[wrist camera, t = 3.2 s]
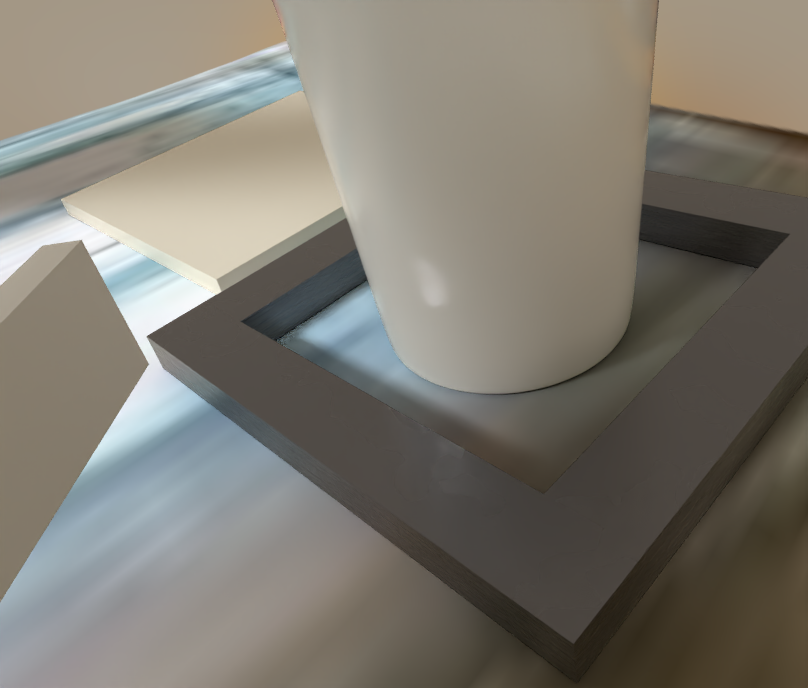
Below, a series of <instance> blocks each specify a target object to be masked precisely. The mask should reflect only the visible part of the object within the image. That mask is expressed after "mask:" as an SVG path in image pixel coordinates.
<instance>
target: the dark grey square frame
mask: <svg viewBox="0 0 808 688" xmlns="http://www.w3.org/2000/svg"><path fill="white" fill-rule="evenodd" d="M639 239H642V240H646V241H650V242H654V243H658V244H662V245H667V246H671V247H675V248H679V249H683V250H687V251H691V252H695V253H700V254H704V255H708V256H712V257H716V258H720V259H724V260H729V261H733V262H737V263H741V264H745V265H749V266H753V267H757V268H758V269H757V270H756V271H755V272H754V273H753V274H752V275H751V276H750V277H749V278H748V279H747V280H746V281H745V282H744V283H743V285H742V286H741V287H740V288H739V289H738V290H737V291H736V292H735V293H734V294H733V295H732V296H731V297H730V298H729V299H728V300H727V301H726V302H725V304H724V305H723V306H722V307H721V308H720V309H719V310H718V311H717V312H716V313H715V314H714V315H713V316H712V317H711V318H710V319H709V320H708V321H707V323H706V324H705V325H704V326H703V327H702V328H701V329H700V330H699V331H698V332H697V333H696V334H695V335H694V336H693V337H692V338H691V339H690V340H689V342H688V343H687V344H686V345H685V346H684V347H683V348H682V349H681V350H680V351H679V352H678V353H677V354H676V355H675V356H674V357H673V358H672V359H671V361H670V362H669V363H668V364H667V365H666V366H665V367H664V368H663V369H662V370H661V371H660V372H659V373H658V374H657V375H656V376H655V377H654V378H653V380H652V381H651V382H650V383H649V384H648V385H647V386H646V387H645V388H644V389H643V390H642V391H641V392H640V393H639V394H638V395H637V396H636V397H635V399H634V400H633V401H632V402H631V403H630V404H629V405H628V406H627V407H626V408H625V409H624V410H623V411H622V412H621V413H620V414H619V415H618V417H617V418H616V419H615V420H614V421H613V422H612V423H611V424H610V425H609V426H608V427H607V428H606V429H605V430H604V431H603V432H602V433H601V434H600V436H599V437H598V438H597V439H596V440H595V441H594V442H593V443H592V444H591V445H590V446H589V447H588V448H587V449H586V450H585V451H584V452H583V453H582V455H581V456H580V457H579V458H578V459H577V460H576V461H575V462H574V463H573V464H572V465H571V466H570V467H569V468H568V469H567V470H566V471H565V472H564V474H563V475H562V476H561V477H560V478H559V479H558V480H557V481H556V482H555V483H554V484H553V485H552V486H551V487H550V488H549V489H548V490H547V491H546V493H545V494H543V493H541V492H539V491H537V490H536V489H534V488H532V487H530V486H528V485H527V484H525V483H523V482H521V481H520V480H518V479H516V478H514V477H513V476H511V475H509V474H507V473H506V472H504V471H502V470H500V469H499V468H497V467H495V466H493V465H492V464H490V463H488V462H486V461H485V460H483V459H481V458H479V457H478V456H476V455H474V454H472V453H471V452H469V451H467V450H465V449H463V448H462V447H460V446H458V445H456V444H455V443H453V442H451V441H449V440H448V439H446V438H444V437H442V436H441V435H439V434H437V433H435V432H434V431H432V430H430V429H428V428H427V427H425V426H423V425H421V424H420V423H418V422H416V421H414V420H413V419H411V418H409V417H407V416H406V415H404V414H402V413H400V412H399V411H397V410H395V409H393V408H391V407H390V406H388V405H386V404H384V403H383V402H381V401H379V400H377V399H376V398H374V397H372V396H370V395H369V394H367V393H365V392H363V391H362V390H360V389H358V388H356V387H355V386H353V385H351V384H349V383H348V382H346V381H344V380H342V379H341V378H339V377H337V376H335V375H334V374H332V373H330V372H328V371H326V370H325V369H323V368H321V367H319V366H318V365H316V364H314V363H312V362H311V361H309V360H307V359H305V358H304V357H302V356H300V355H298V354H297V353H295V352H293V351H291V350H290V349H288V348H286V347H284V346H283V345H281V344H279V343H277V342H276V341H275V340H277V339H278V338H280V337H281V336H283V335H284V334H286V333H287V332H289V331H290V330H292V329H293V328H295V327H296V326H298V325H299V324H301V323H302V322H304V321H305V320H307V319H308V318H310V317H311V316H313V315H314V314H316V313H317V312H319V311H320V310H322V309H323V308H325V307H326V306H328V305H329V304H331V303H332V302H334V301H335V300H337V299H338V298H340V297H341V296H343V295H344V294H346V293H347V292H349V291H350V290H352V289H353V288H355V287H356V286H358V285H359V284H361V283H362V282H364V281H365V280H367V277H366V274H365V271H364V269H363V266H362V263H361V260H360V257H359V254H358V251H357V248H356V245H355V242H354V239H353V236H352V233H351V230H350V227H349V224H348V221H347V218H345V219H343V220H341V221H340V222H338V223H336V224H335V225H333V226H331V227H330V228H328V229H326V230H325V231H323V232H321V233H320V234H318V235H316V236H314V237H313V238H311V239H309V240H308V241H306V242H304V243H303V244H301V245H299V246H298V247H296V248H294V249H293V250H291V251H289V252H288V253H286V254H284V255H283V256H281V257H279V258H277V259H276V260H274V261H272V262H271V263H269V264H267V265H266V266H264V267H262V268H261V269H259V270H257V271H256V272H254V273H252V274H251V275H249V276H247V277H246V278H244V279H242V280H241V281H239V282H237V283H235V284H234V285H232V286H230V287H229V288H227V289H225V290H224V291H222V292H220V293H219V294H217V295H215V296H214V297H212V298H210V299H209V300H207V301H205V302H204V303H202V304H200V305H198V306H197V307H195V308H193V309H192V310H190V311H188V312H187V313H185V314H183V315H182V316H180V317H178V318H177V319H175V320H173V321H172V322H170V323H168V324H167V325H165V326H163V327H161V328H160V329H158V330H156V331H155V332H153V333H151V334H150V335H148V336H147V338H148V340H149V342H150V344H151V346H152V348H153V350H154V351H155V353H156V355H157V357H158V359H159V361H160V363H161V365H162V367H163V368H164V369H165V370H166V371H168V372H169V373H170V374H172V375H173V376H174V377H175V378H177V379H178V380H179V381H181V382H182V383H183V384H185V385H186V386H187V387H189V388H190V389H191V390H192V391H194V392H195V393H196V394H198V395H199V396H200V397H202V398H203V399H204V400H206V401H207V402H208V403H210V404H211V405H212V406H213V407H215V408H216V409H217V410H219V411H220V412H221V413H223V414H224V415H225V416H227V417H228V418H229V419H231V420H232V421H233V422H234V423H236V424H237V425H238V426H240V427H241V428H242V429H244V430H245V431H246V432H248V433H249V434H250V435H252V436H253V437H254V438H255V439H257V440H258V441H259V442H261V443H262V444H263V445H265V446H266V447H267V448H269V449H270V450H271V451H273V452H274V453H275V454H276V455H278V456H279V457H280V458H282V459H283V460H284V461H286V462H287V463H288V464H290V465H291V466H292V467H294V468H295V469H296V470H297V471H299V472H300V473H301V474H303V475H304V476H305V477H307V478H308V479H309V480H311V481H312V482H313V483H314V484H316V485H317V486H318V487H320V488H321V489H322V490H324V491H325V492H326V493H328V494H329V495H330V496H332V497H333V498H334V499H335V500H337V501H338V502H339V503H341V504H342V505H343V506H345V507H346V508H347V509H349V510H350V511H351V512H353V513H354V514H355V515H356V516H358V517H359V518H360V519H362V520H363V521H364V522H366V523H367V524H368V525H370V526H371V527H372V528H374V529H375V530H376V531H377V532H379V533H380V534H381V535H383V536H384V537H385V538H387V539H388V540H389V541H391V542H392V543H393V544H395V545H396V546H397V547H398V548H400V549H401V550H402V551H404V552H405V553H406V554H408V555H409V556H410V557H412V558H413V559H414V560H416V561H417V562H418V563H419V564H421V565H422V566H423V567H425V568H426V569H427V570H429V571H430V572H431V573H433V574H434V575H435V576H436V577H438V578H439V579H440V580H442V581H443V582H444V583H446V584H447V585H448V586H450V587H451V588H452V589H454V590H455V591H456V592H457V593H459V594H460V595H461V596H463V597H464V598H465V599H467V600H468V601H469V602H471V603H472V604H473V605H475V606H476V607H477V608H478V609H480V610H481V611H482V612H484V613H485V614H486V615H488V616H489V617H490V618H492V619H493V620H494V621H496V622H497V623H498V624H499V625H501V626H502V627H503V628H505V629H506V630H507V631H509V632H510V633H511V634H513V635H514V636H515V637H517V638H518V639H519V640H520V641H522V642H523V643H524V644H526V645H527V646H528V647H530V648H531V649H532V650H534V651H535V652H536V653H537V654H539V655H540V656H541V657H543V658H544V659H545V660H547V661H548V662H549V663H551V664H552V665H553V666H555V667H556V668H557V669H558V670H560V671H561V672H562V673H564V674H565V675H566V676H568V677H569V678H570V679H572V680H573V681H574V682H576V683H578V681H579V680H580V679H581V677H582V676H583V675H584V673H585V672H586V671H587V669H588V668H589V667H590V665H591V664H592V663H593V661H594V660H595V659H596V657H597V656H598V655H599V653H600V652H601V651H602V649H603V648H604V647H605V645H606V644H607V643H608V641H609V640H610V639H611V637H612V636H613V635H614V633H615V632H616V631H617V629H618V628H619V627H620V626H621V624H622V623H623V622H624V620H625V619H626V618H627V616H628V615H629V614H630V612H631V611H632V610H633V608H634V607H635V606H636V604H637V603H638V602H639V600H640V599H641V598H642V596H643V595H644V594H645V592H646V591H647V590H648V588H649V587H650V586H651V584H652V583H653V582H654V580H655V579H656V578H657V576H658V575H659V574H660V572H661V571H662V570H663V568H664V567H665V566H666V564H667V563H668V562H669V560H670V559H671V558H672V556H673V555H674V554H675V552H676V551H677V550H678V548H679V547H680V546H681V544H682V543H683V542H684V540H685V539H686V538H687V536H688V535H689V534H690V532H691V531H692V530H693V529H694V527H695V526H696V525H697V523H698V522H699V521H700V519H701V518H702V517H703V515H704V514H705V513H706V511H707V510H708V509H709V507H710V506H711V505H712V503H713V502H714V501H715V499H716V498H717V497H718V495H719V494H720V493H721V491H722V490H723V489H724V487H725V486H726V485H727V483H728V482H729V481H730V479H731V478H732V477H733V475H734V474H735V473H736V471H737V470H738V469H739V467H740V466H741V465H742V463H743V462H744V461H745V459H746V458H747V457H748V455H749V454H750V453H751V451H752V450H753V449H754V447H755V446H756V445H757V443H758V442H759V441H760V439H761V438H762V437H763V436H764V434H765V433H766V432H767V430H768V429H769V428H770V426H771V425H772V424H773V422H774V421H775V420H776V418H777V417H778V416H779V414H780V413H781V412H782V410H783V409H784V408H785V406H786V405H787V404H788V402H789V401H790V400H791V398H792V397H793V396H794V394H795V393H796V392H797V390H798V389H799V388H800V386H801V385H802V384H803V382H804V381H805V380H806V378H807V377H808V198H806V197H800V196H794V195H788V194H782V193H776V192H771V191H765V190H759V189H753V188H747V187H741V186H735V185H729V184H723V183H717V182H711V181H705V180H699V179H693V178H687V177H681V176H675V175H670V174H664V173H658V172H652V171H646V170H645V175H644V188H643V200H642V211H641V223H640V235H639Z"/></svg>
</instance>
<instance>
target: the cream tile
mask: <svg viewBox="0 0 808 688" xmlns="http://www.w3.org/2000/svg"><path fill="white" fill-rule="evenodd" d="M61 201H62V203H63V204H64V206H65V208H66V210H67V212H68V214H69V215H71V216H72V217H74V218H76V219H78V220H80V221H82V222H83V223H85V224H87V225H89V226H91V227H93V228H94V229H96V230H98V231H100V232H102V233H104V234H106V235H107V236H109V237H111V238H113V239H115V240H117V241H118V242H120V243H122V244H124V245H126V246H128V247H129V248H131V249H133V250H135V251H137V252H139V253H140V254H142V255H144V256H146V257H148V258H150V259H151V260H153V261H155V262H157V263H159V264H161V265H162V266H164V267H166V268H168V269H170V270H172V271H173V272H175V273H177V274H179V275H181V276H183V277H184V278H186V279H188V280H190V281H192V282H194V283H195V284H197V285H199V286H201V287H203V288H205V289H207V290H208V291H210V292H212V293H214V294H216V295H217V294H219V293H220V292H222V291H224V290H225V289H227V288H229V287H230V286H232V285H234V284H235V283H237V282H239V281H241V280H242V279H244V278H246V277H247V276H249V275H251V274H252V273H254V272H256V271H257V270H259V269H261V268H262V267H264V266H266V265H267V264H269V263H271V262H272V261H274V260H276V259H277V258H279V257H281V256H283V255H284V254H286V253H288V252H289V251H291V250H293V249H294V248H296V247H298V246H299V245H301V244H303V243H304V242H306V241H308V240H309V239H311V238H313V237H314V236H316V235H318V234H320V233H321V232H323V231H325V230H326V229H328V228H330V227H331V226H333V225H335V224H336V223H338V222H340V221H341V220H343V219H345V218H346V215H345V212H344V209H343V207H342V204H341V201H340V198H339V195H338V192H337V189H336V186H335V183H334V180H333V177H332V174H331V171H330V168H329V165H328V162H327V159H326V156H325V153H324V150H323V147H322V144H321V141H320V138H319V135H318V132H317V129H316V126H315V124H314V121H313V118H312V115H311V112H310V109H309V106H308V103H307V100H306V97H305V94H304V91H298V92H296V93H294V94H291V95H289V96H287V97H285V98H283V99H280V100H278V101H276V102H274V103H272V104H269V105H267V106H265V107H263V108H261V109H258V110H256V111H254V112H252V113H250V114H247V115H245V116H243V117H241V118H239V119H236V120H234V121H232V122H230V123H228V124H225V125H223V126H221V127H219V128H217V129H214V130H212V131H210V132H208V133H206V134H203V135H201V136H199V137H197V138H195V139H192V140H190V141H188V142H186V143H184V144H181V145H179V146H177V147H175V148H173V149H170V150H168V151H166V152H164V153H162V154H159V155H157V156H155V157H153V158H151V159H148V160H146V161H144V162H142V163H140V164H137V165H135V166H133V167H131V168H129V169H126V170H124V171H122V172H120V173H118V174H115V175H113V176H111V177H109V178H107V179H104V180H102V181H100V182H98V183H96V184H93V185H91V186H89V187H87V188H85V189H82V190H80V191H78V192H76V193H74V194H71V195H69V196H67V197H65V198H63V199H61Z"/></svg>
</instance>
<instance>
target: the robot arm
mask: <svg viewBox="0 0 808 688" xmlns="http://www.w3.org/2000/svg"><path fill="white" fill-rule="evenodd" d="M148 365H149V364H148V362H147V360H146V358H145V356H144V354H143V353H142V351H141V349H140V347H139V345H138V343H137V341H136V340H135V338H134V336H133V334H132V332H131V330H130V329H129V327H128V325H127V323H126V321H125V319H124V318H123V316H122V314H121V312H120V310H119V308H118V307H117V305H116V303H115V301H114V299H113V297H112V295H111V294H110V292H109V290H108V288H107V286H106V284H105V283H104V281H103V279H102V277H101V275H100V273H99V272H98V270H97V268H96V266H95V264H94V262H93V260H92V259H91V257H90V255H89V253H88V251H87V249H86V248H85V246H84V244H83V242H82V240H79V241H72V242H65V243H59V244H52V245H45V246H42V247H41V248H40V249H39V250H38V251H37V252H36V253H34V254H33V255H32V256H31V257H30V258H29V259H28V260H27V261H26V262H25V263H24V264H23V265H22V266H21V267H20V268H19V269H18V270H17V271H16V272H14V273H13V274H12V275H11V276H10V277H9V278H8V279H7V280H6V281H5V282H4V283H3V284H2V285H1V286H0V602H1V600H2V598H3V597H4V595H5V594H6V592H7V590H8V589H9V587H10V586H11V584H12V582H13V581H14V579H15V578H16V576H17V574H18V573H19V571H20V570H21V568H22V566H23V565H24V563H25V562H26V560H27V558H28V557H29V555H30V554H31V552H32V550H33V549H34V547H35V546H36V544H37V542H38V541H39V539H40V538H41V536H42V534H43V533H44V531H45V530H46V528H47V526H48V525H49V523H50V522H51V520H52V518H53V517H54V515H55V514H56V512H57V510H58V509H59V507H60V506H61V504H62V502H63V501H64V499H65V498H66V496H67V494H68V493H69V491H70V490H71V488H72V486H73V485H74V483H75V482H76V480H77V478H78V477H79V475H80V474H81V472H82V470H83V469H84V467H85V466H86V464H87V462H88V461H89V459H90V458H91V456H92V454H93V453H94V451H95V450H96V448H97V446H98V445H99V443H100V442H101V440H102V438H103V437H104V435H105V434H106V432H107V430H108V429H109V427H110V426H111V424H112V422H113V421H114V419H115V418H116V416H117V414H118V413H119V411H120V410H121V408H122V406H123V405H124V403H125V402H126V400H127V398H128V397H129V395H130V394H131V392H132V390H133V389H134V387H135V386H136V384H137V382H138V381H139V379H140V378H141V376H142V374H143V373H144V371H145V370H146V368H147V366H148Z"/></svg>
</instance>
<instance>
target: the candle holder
mask: <svg viewBox="0 0 808 688" xmlns="http://www.w3.org/2000/svg"><path fill="white" fill-rule="evenodd" d="M272 2H273V4H274V7H275V9H276V12H277V15H278V18H279V20H280V23H281V26H282V29H283V32H284V35H285V38H286V41H287V44H288V47H289V50H290V52H291V55H292V58H293V61H294V64H295V67H296V70H297V73H298V76H299V79H300V82H301V85H302V88H303V91H304V94H305V97H306V100H307V103H308V106H309V109H310V112H311V115H312V118H313V121H314V124H315V126H316V129H317V132H318V135H319V138H320V141H321V144H322V147H323V150H324V153H325V156H326V159H327V162H328V165H329V168H330V171H331V174H332V177H333V180H334V183H335V186H336V189H337V192H338V195H339V198H340V201H341V204H342V207H343V209H344V212H345V215H346V218H347V221H348V224H349V227H350V230H351V233H352V236H353V239H354V242H355V245H356V248H357V251H358V254H359V257H360V260H361V263H362V266H363V269H364V271H365V274H366V277H367V280H368V283H369V286H370V289H371V292H372V295H373V298H374V301H375V303H376V306H377V309H378V312H379V315H380V318H381V320H382V323H383V326H384V329H385V331H386V334H387V336H388V339H389V341H390V344H391V346H392V348H393V350H394V351H395V353H396V355H397V356H398V358H399V359H400V360H401V361H402V362H403V364H404V365H405V366H406V367H408V368H409V369H410V370H411V371H412V372H414V373H415V374H417V375H418V376H420V377H422V378H423V379H425V380H427V381H429V382H432V383H434V384H437V385H439V386H442V387H445V388H449V389H453V390H457V391H463V392H469V393H479V394H508V393H518V392H525V391H531V390H536V389H540V388H544V387H548V386H551V385H554V384H557V383H560V382H563V381H566V380H568V379H570V378H573V377H575V376H577V375H579V374H581V373H583V372H585V371H586V370H588V369H590V368H591V367H593V366H594V365H596V364H597V363H599V362H600V361H601V360H602V359H604V358H605V357H606V356H607V355H608V354H609V353H610V352H611V351H612V350H613V349H614V348H615V347H616V346H617V344H618V343H619V342H620V340H621V339H622V337H623V335H624V333H625V331H626V329H627V327H628V324H629V321H630V317H631V312H632V306H633V298H634V289H635V279H636V269H637V258H638V247H639V235H640V223H641V211H642V200H643V188H644V175H645V163H646V151H647V139H648V127H649V115H650V103H651V90H652V78H653V66H654V53H655V42H656V30H657V18H658V5H659V0H272Z"/></svg>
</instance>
